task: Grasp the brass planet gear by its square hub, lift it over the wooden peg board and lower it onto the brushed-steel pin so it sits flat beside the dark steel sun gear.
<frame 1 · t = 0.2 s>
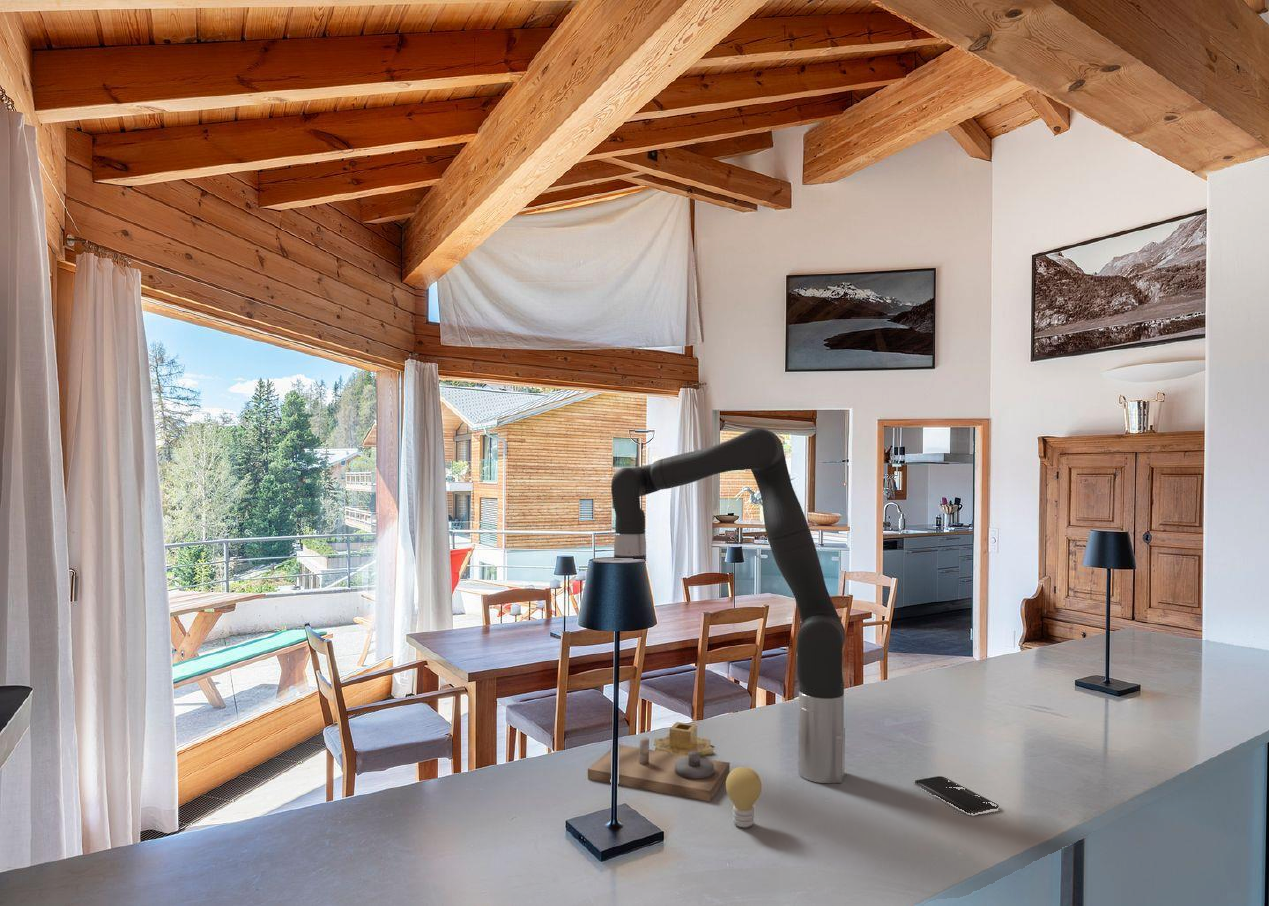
hand: (629, 622, 170), 28 cm above the counter, fingers open, 8 cm apart
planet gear: (683, 749, 167), on the counter
wooden peg board: (659, 775, 152), on the counter
phone: (955, 799, 144), on the counter
light bulb: (743, 825, 131), on the counter
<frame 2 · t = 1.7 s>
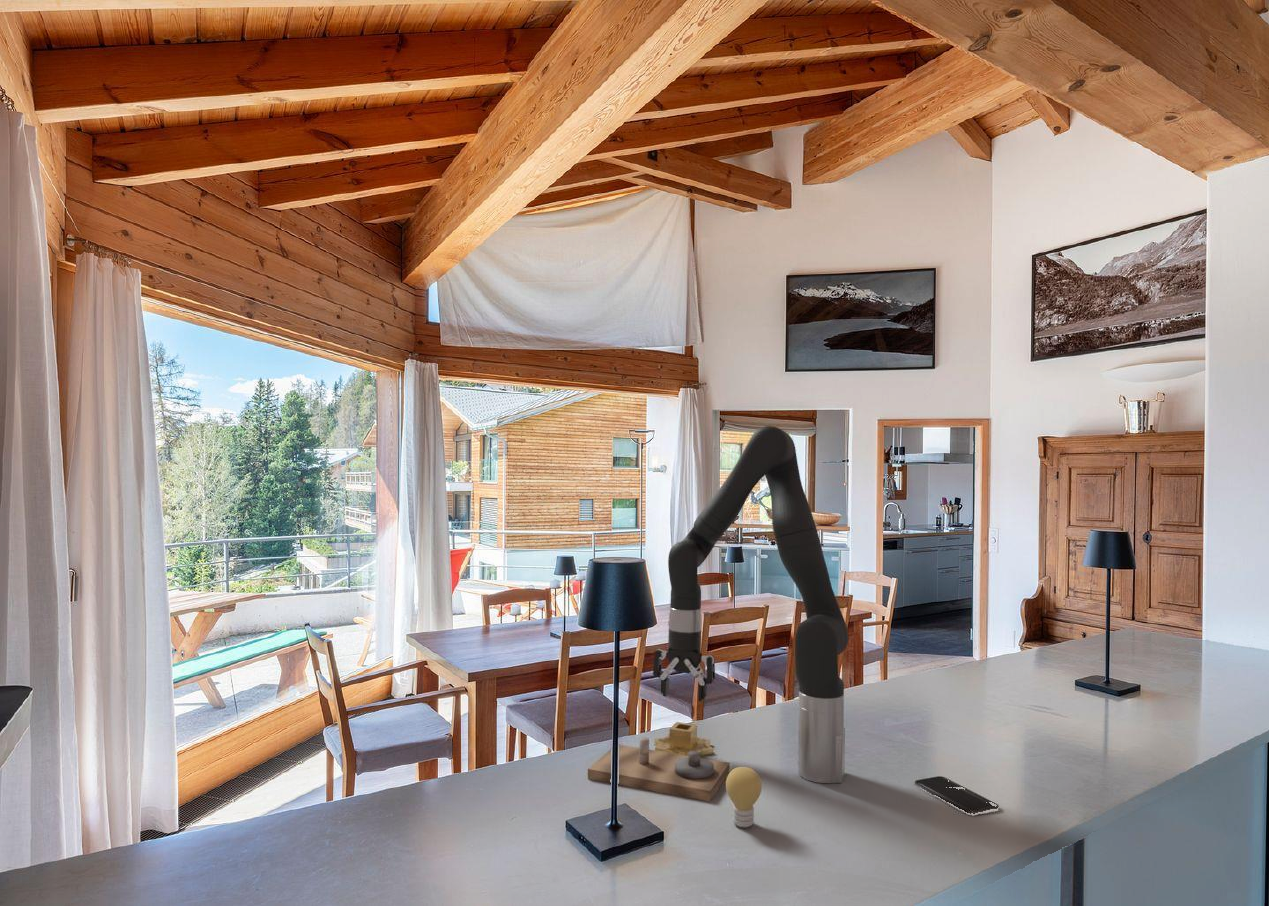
hand: (683, 698, 167), 11 cm above the counter, fingers open, 8 cm apart
nothing on the counter moved.
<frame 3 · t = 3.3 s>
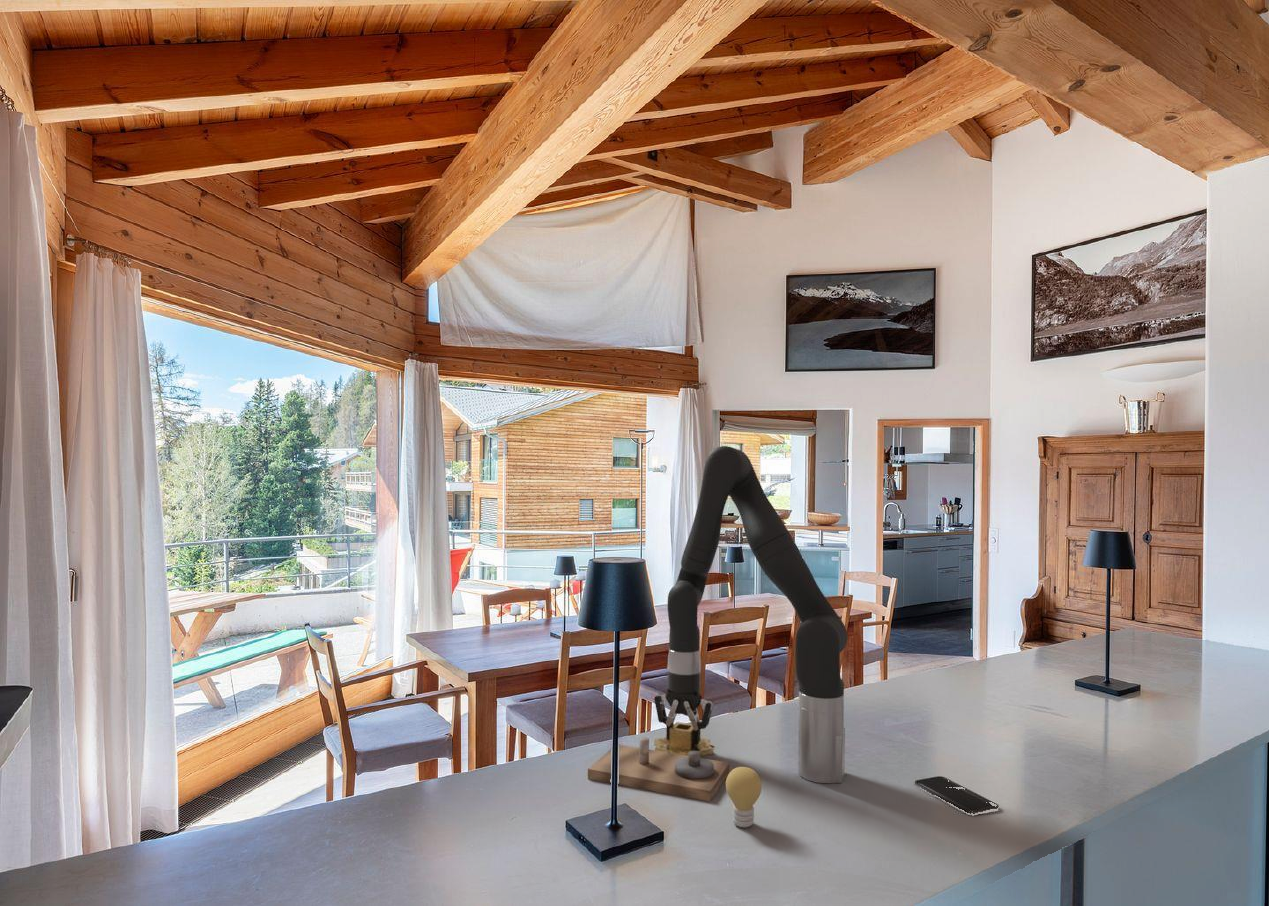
hand: (683, 743, 167), 1 cm above the counter, fingers closed on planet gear, 5 cm apart
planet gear: (683, 749, 167), on the counter, touching gripper
everything else where it was.
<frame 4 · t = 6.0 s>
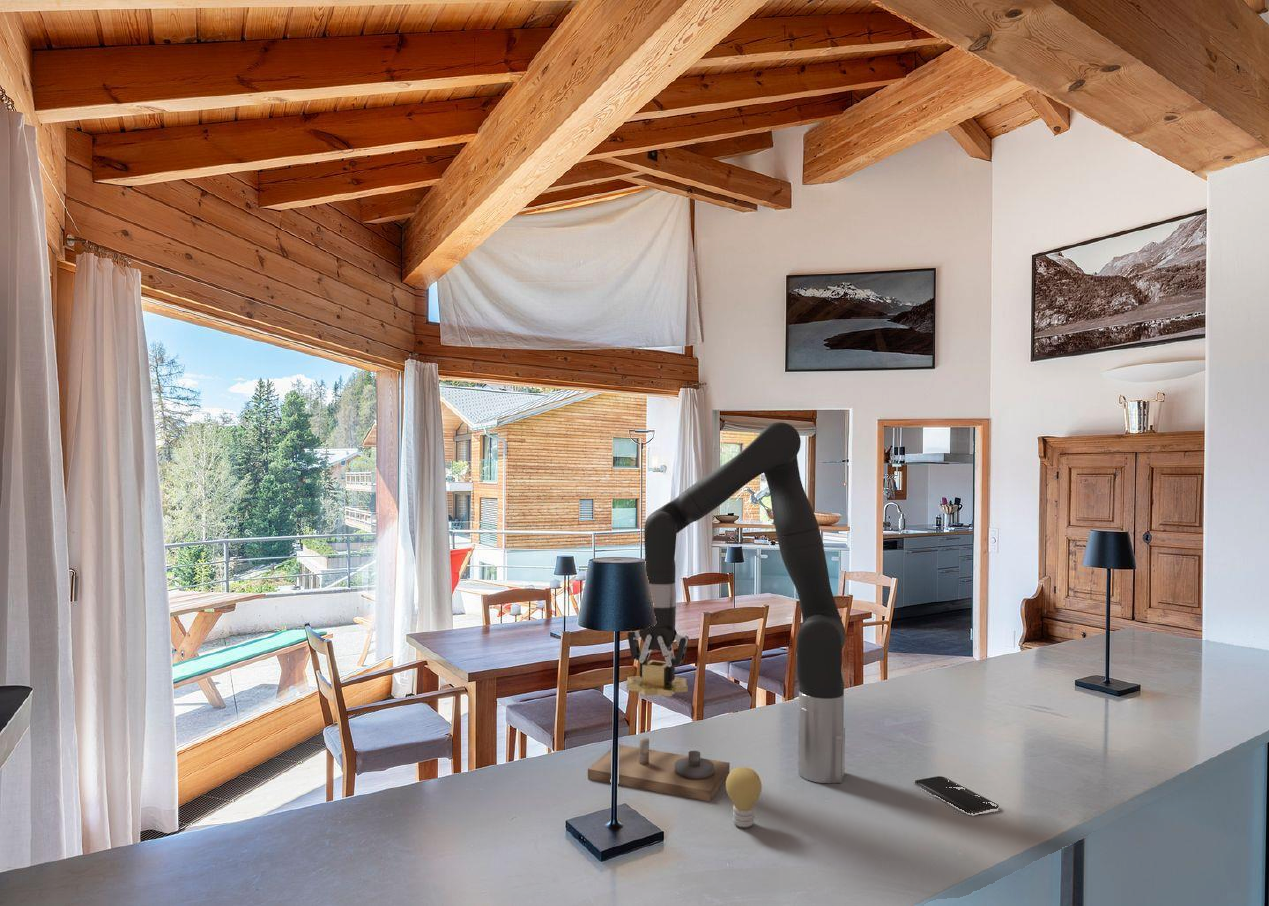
hand: (656, 681, 159), 18 cm above the counter, fingers closed on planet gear, 5 cm apart
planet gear: (656, 686, 159), point 16 cm above the counter, touching gripper
everything else where it was.
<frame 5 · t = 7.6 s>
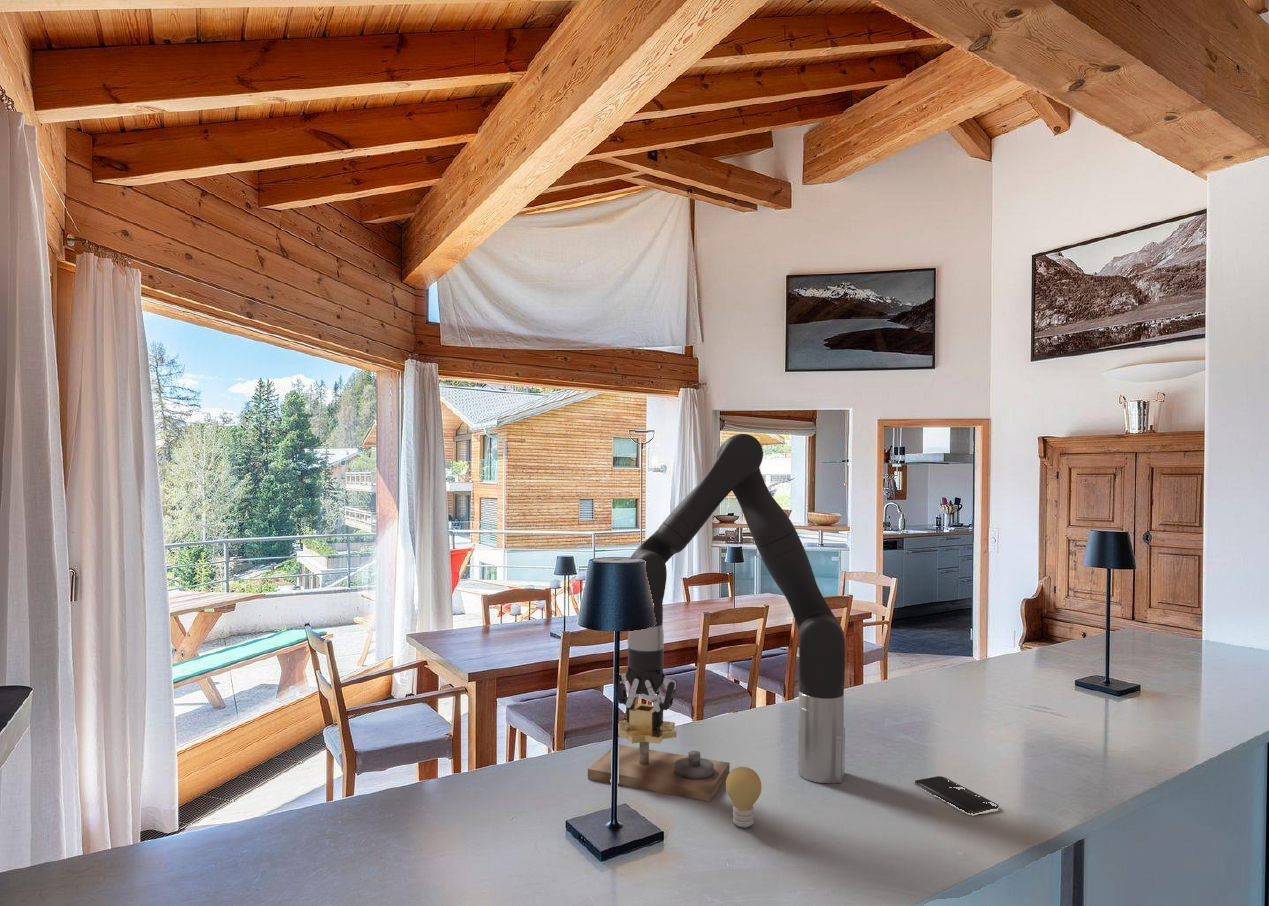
hand: (644, 726, 153), 10 cm above the counter, fingers closed on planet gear, 5 cm apart
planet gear: (644, 732, 153), point 8 cm above the counter, touching gripper
everything else where it was.
when the fingers open (5 cm above the counter, at t = 9.0 s): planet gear stays where it is, resting on wooden peg board.
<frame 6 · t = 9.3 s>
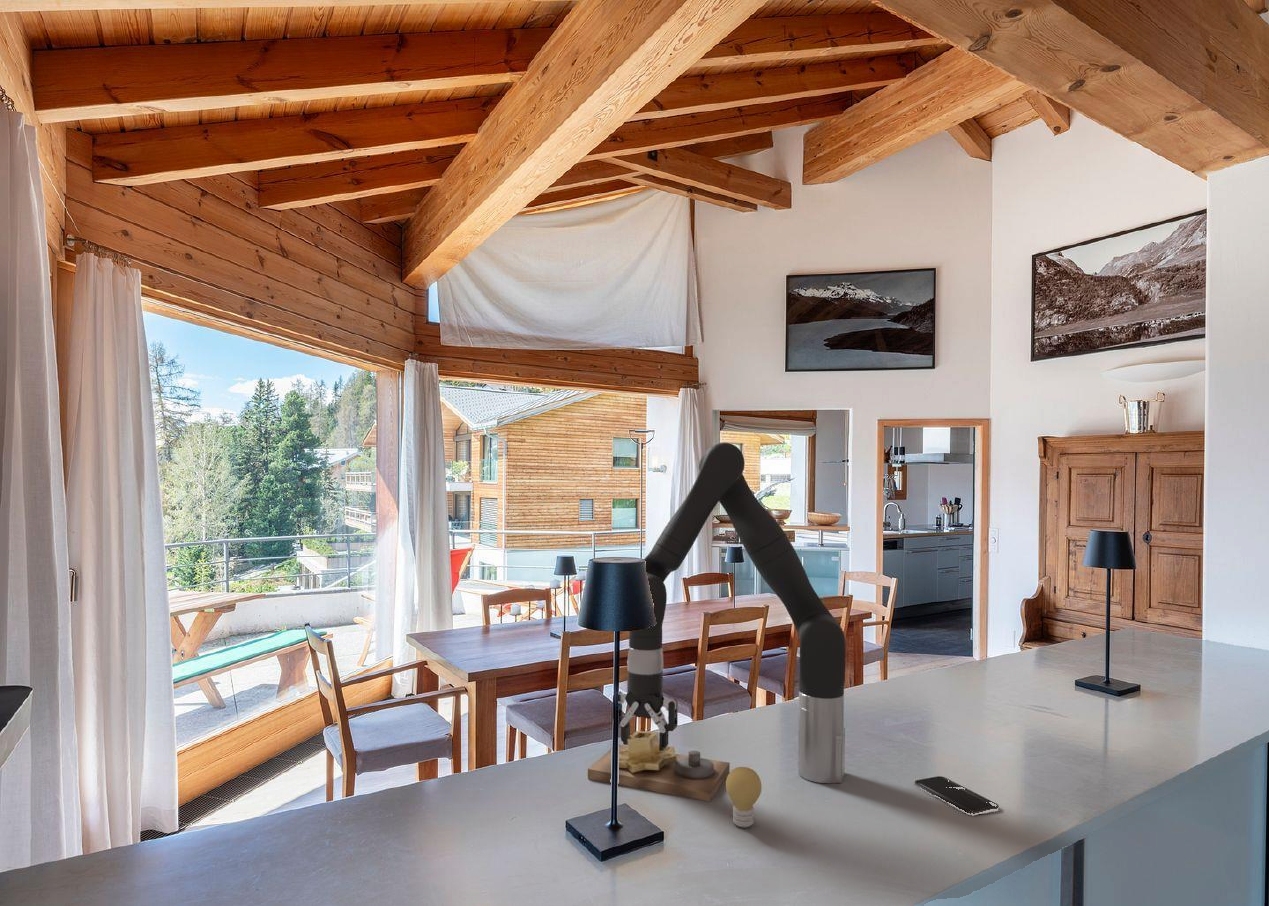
hand: (644, 746, 153), 5 cm above the counter, fingers open, 7 cm apart
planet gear: (644, 759, 153), point 3 cm above the counter, tilted 6°, touching wooden peg board
everything else where it was.
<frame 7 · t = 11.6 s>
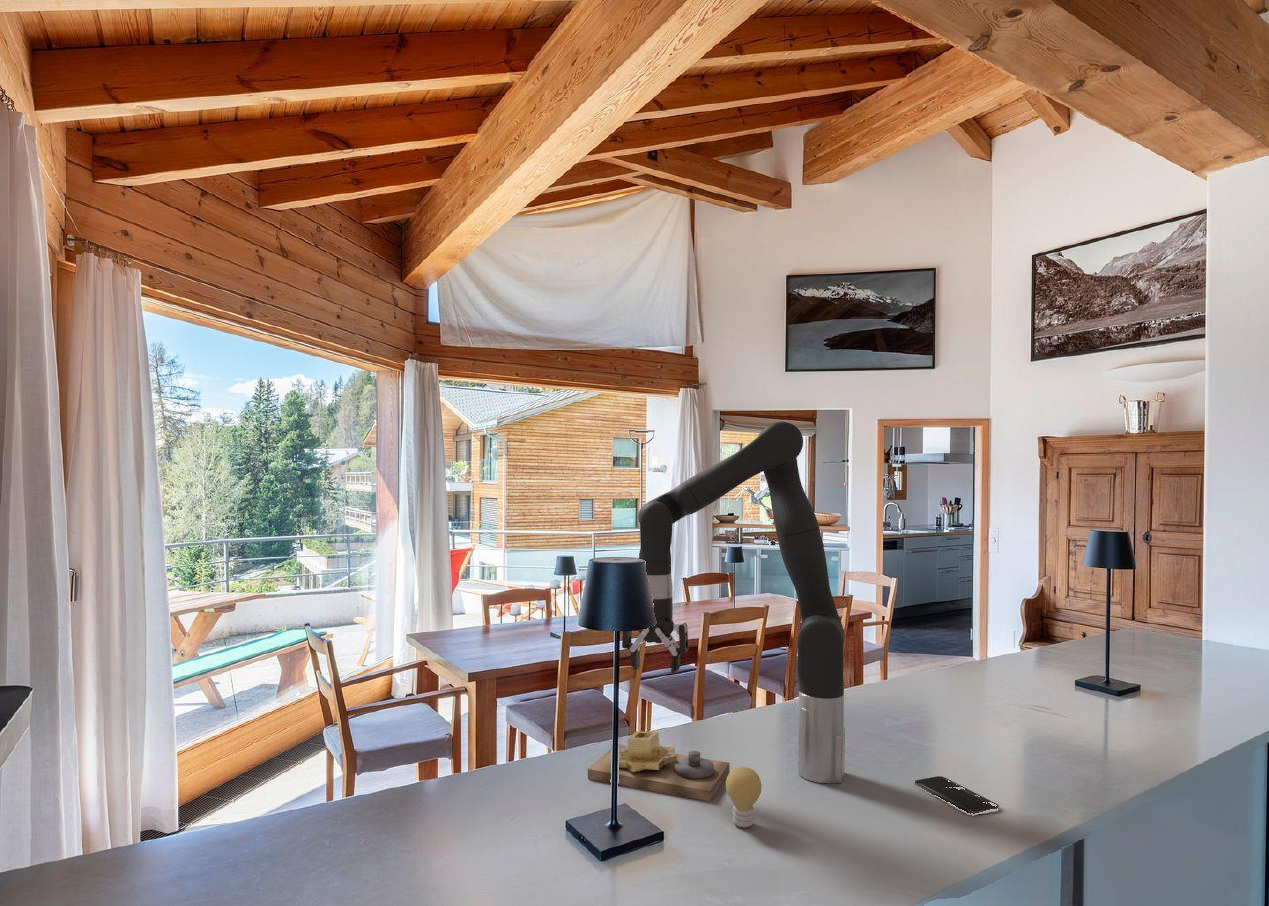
hand: (655, 670, 156), 21 cm above the counter, fingers open, 8 cm apart
nothing on the counter moved.
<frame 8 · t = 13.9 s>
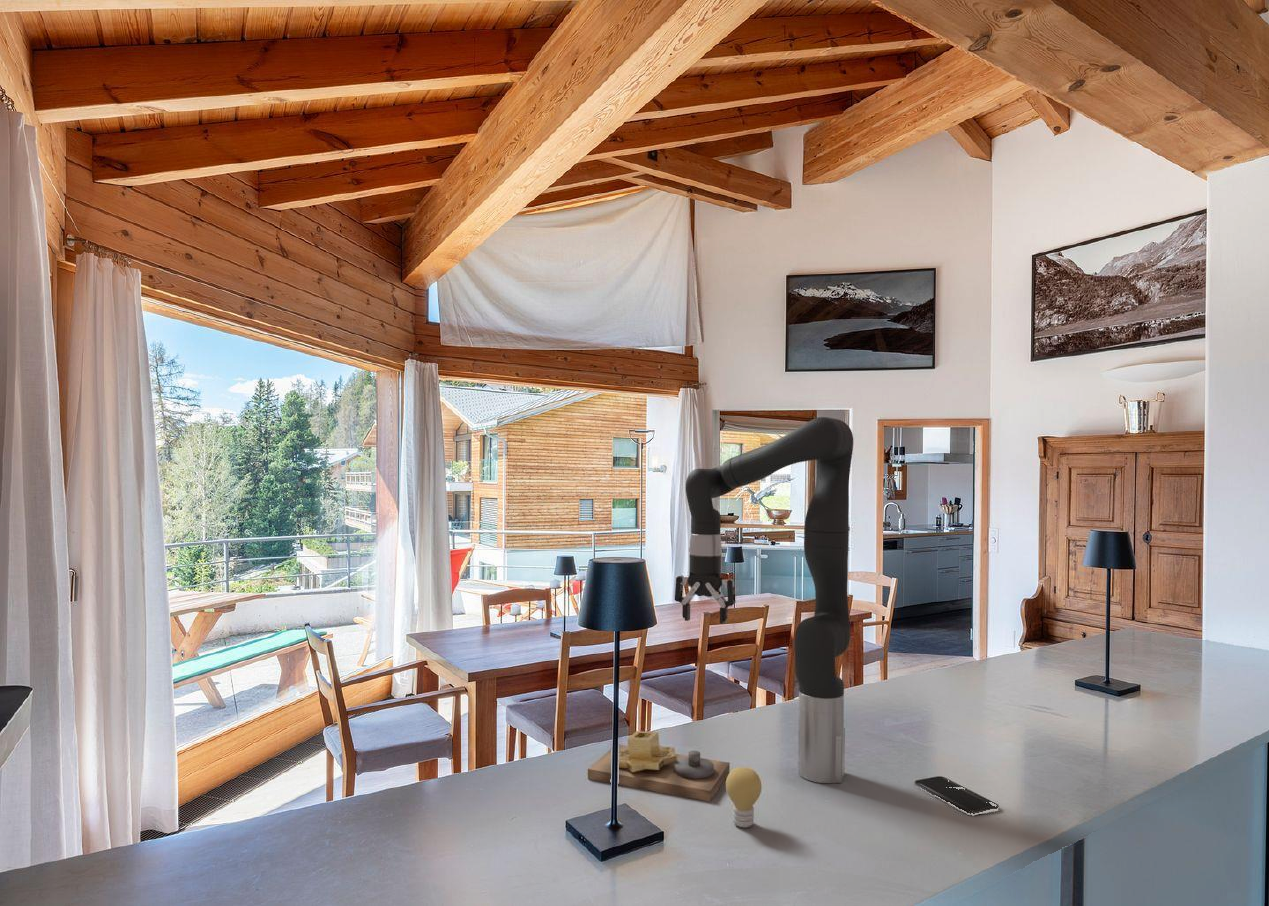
hand: (704, 621, 172), 28 cm above the counter, fingers open, 8 cm apart
nothing on the counter moved.
at the end: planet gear 0.2 cm from the target spot on the wooden peg board, point 2.7 cm above the wooden peg board's base; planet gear tilted 6°; the gripper is holding nothing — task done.
